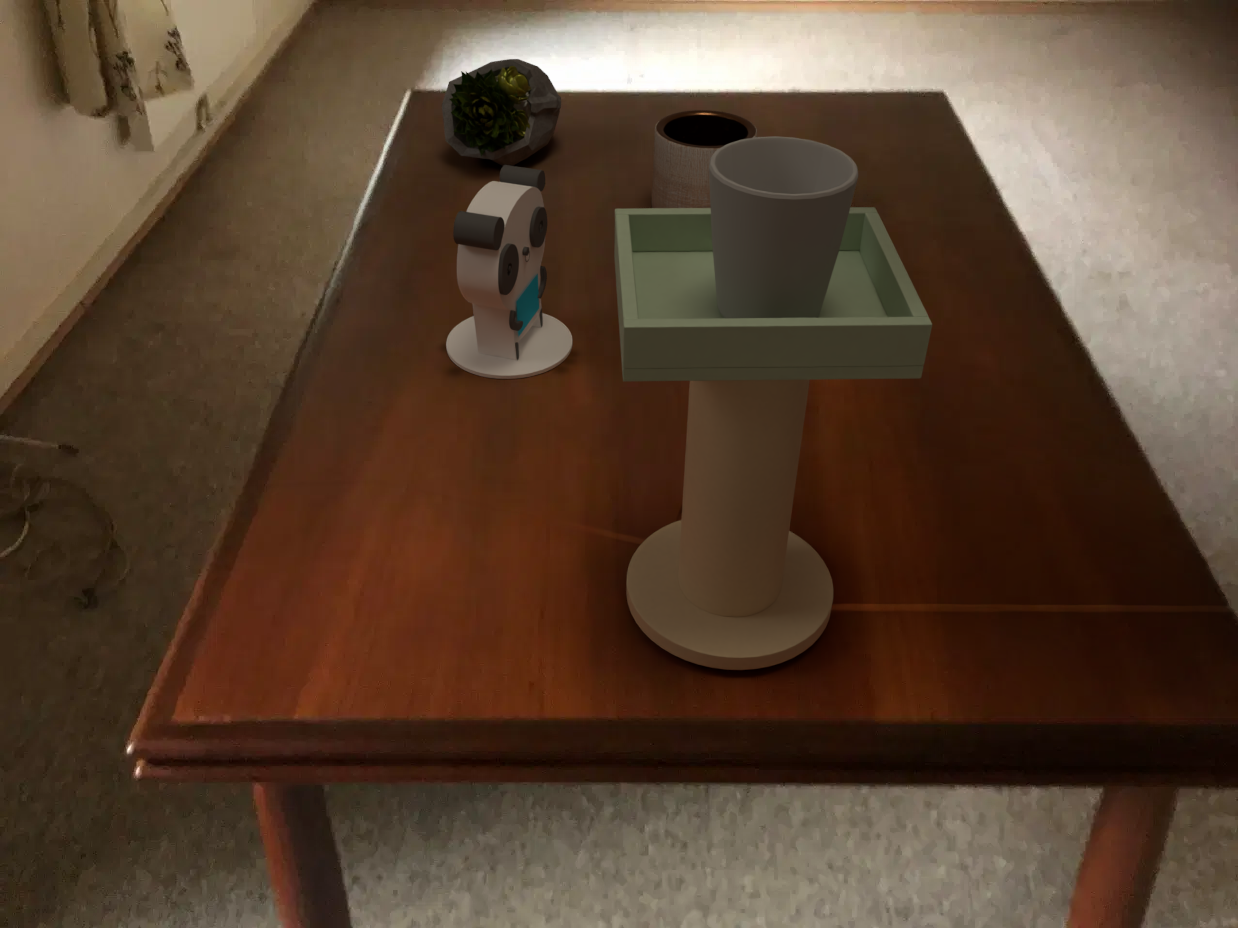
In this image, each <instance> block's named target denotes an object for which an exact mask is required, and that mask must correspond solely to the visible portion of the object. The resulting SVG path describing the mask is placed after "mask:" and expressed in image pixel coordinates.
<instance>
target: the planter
mask: <svg viewBox="0 0 1238 928" xmlns="http://www.w3.org/2000/svg"><path fill="white" fill-rule="evenodd" d="M755 137H758V129H757V127H756V125H754V123H752V121H750V120H748V119H747V118H745V117H742V116H740V115H737V114H734V113H730V112H725V111H719V110H710V109H708V110H707V109H694V110H693V109H692V110H684V111H679V112H674V113H671V114H668V115H666V116H663V117H662V118H661V119H659V120H658V121H657V122H656V123H655V125H654V141H653V142H654V143H653V161H652V162H653V165H652V181H651V201H650V202H651V208H711V205H710V181H709V163H710V159H711V157H712V156H713V154H714V153H715V152H716V151H717V150H718V149H720V148H721V147H723V146H725V145H727V144H729V143H732V142H735V141H738V140H742V139H749V138H755Z"/></svg>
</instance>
